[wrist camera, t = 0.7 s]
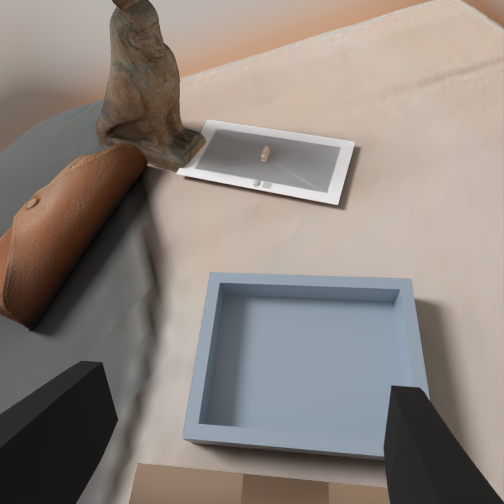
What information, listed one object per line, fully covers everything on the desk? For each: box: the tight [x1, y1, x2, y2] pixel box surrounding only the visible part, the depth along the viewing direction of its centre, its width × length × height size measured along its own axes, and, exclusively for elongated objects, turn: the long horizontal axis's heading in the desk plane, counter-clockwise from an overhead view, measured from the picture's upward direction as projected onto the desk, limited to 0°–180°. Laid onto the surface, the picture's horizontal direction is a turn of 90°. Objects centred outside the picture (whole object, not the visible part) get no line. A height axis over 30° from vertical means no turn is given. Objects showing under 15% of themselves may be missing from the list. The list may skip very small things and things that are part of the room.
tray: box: [182, 272, 430, 461], centre depth 24 cm, size 11×14×2 cm
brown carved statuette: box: [95, 0, 206, 172], centre depth 32 cm, size 12×6×18 cm, turn 55°
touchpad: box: [176, 120, 355, 205], centre depth 35 cm, size 8×15×2 cm, turn 71°
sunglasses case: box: [0, 143, 148, 331], centre depth 32 cm, size 18×7×7 cm
